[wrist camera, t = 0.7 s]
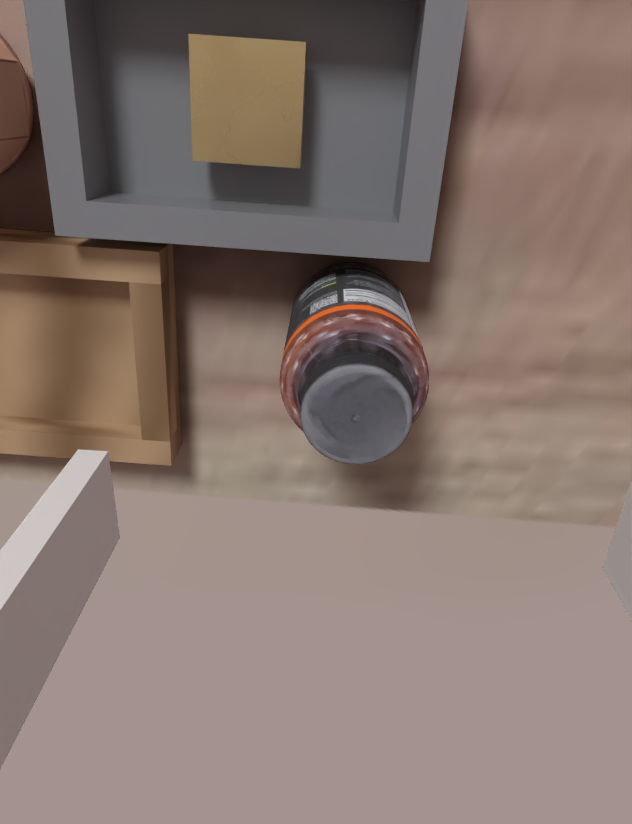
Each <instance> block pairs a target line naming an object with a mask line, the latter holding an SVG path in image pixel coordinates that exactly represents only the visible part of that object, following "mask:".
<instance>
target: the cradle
mask: <svg viewBox="0 0 632 824" xmlns="http://www.w3.org/2000/svg"><path fill="white" fill-rule="evenodd" d="M468 1H469V0H24V8H25V15H26V22H27V30H28V37H29V45H30V52H31V60H32V67H33V74H34V82H35V89H36V97H37V104H38V111H39V119H40V126H41V134H42V141H43V148H44V156H45V163H46V171H47V178H48V186H49V193H50V200H51V208H52V215H53V223H54V230H55V236H69V237H83V238H97V239H111V240H125V241H139V242H154V243H168V244H182V245H196V246H210V247H224V248H238V249H252V250H266V251H280V252H294V253H308V254H322V255H337V256H351V257H365V258H379V259H393V260H407V261H421V262H430V255H431V249H432V242H433V235H434V229H435V222H436V215H437V209H438V202H439V195H440V189H441V182H442V175H443V168H444V162H445V155H446V148H447V142H448V135H449V128H450V122H451V115H452V108H453V102H454V95H455V88H456V81H457V75H458V68H459V61H460V55H461V48H462V41H463V35H464V28H465V21H466V15H467V8H468ZM188 34H200V35H214V36H228V37H243V38H257V39H271V40H285V41H299V42H306V43H307V60H306V81H305V102H304V123H303V144H302V165H301V168H287V167H273V166H258V165H244V164H230V163H216V162H202V161H192V136H191V103H190V70H189V36H188Z"/></svg>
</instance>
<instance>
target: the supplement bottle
mask: <svg viewBox="0 0 632 824" xmlns="http://www.w3.org/2000/svg"><path fill="white" fill-rule="evenodd" d="M428 387H429V372H428V366H427V361H426V358H425V354H424V352H423V347H422V345H421V342H420V340H419V337H418V334H417V332H416V329H415V325H414V324H413V321H412V318H411V315H410V313H409V310H408V307H407V305H406V302H405V300H404V298H403V296H402V294H401V292H400V291H399V289H398V287H397V286H396V284H395V283H394V282H393V281H392V280H391V279H390V278H389V277H388V276H387V275H385V274H384V273H382V272H381V271H379V270H377V269H375V268H373V267H370V266H367V265H363V264H358V263H342V264H338V265H334V266H331V267H328V268H326V269H323V270H322V271H320V272H318V273H317V274H315V275H314V276H313V277H311V278H310V279H309V280H308V281H307V282H306V283H305V284H304V286H303V287H302V288H301V290H300V292H299V294H298V295H297V298H296V300H295V302H294V305H293V309H292V314H291V318H290V324H289V329H288V334H287V339H286V343H285V348H284V354H283V359H282V365H281V371H280V390H281V395H282V399H283V402H284V405H285V407H286V409H287V411H288V413H289V415H290V417H291V418H292V420H293V421H294V422H295V424H296V425H297V426H298V427H299V428H300V429H301V430H302V431H303V432H304V434H305V436H306V437H307V439H308V441H309V442H310V443H311V445H312V446H313V447H314V448H315V449H316V450H318V451H319V452H320V453H321V454H323V455H324V456H326V457H328V458H330V459H333V460H335V461H338V462H342V463H346V464H366V463H370V462H375V461H377V460H379V459H382V458H384V457H386V456H388V455H389V454H391V453H392V452H394V451H395V450H396V449H397V448H398V447H399V446H400V445H401V444H402V442H403V441H404V439H405V438H406V437H407V435H408V433H409V430H410V428H411V424H412V423H413V422H414V421H415V419H416V418H417V417H418V415H419V414H420V412H421V410H422V409H423V406H424V403H425V401H426V398H427V394H428Z"/></svg>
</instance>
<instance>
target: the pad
mask: <svg viewBox="0 0 632 824" xmlns="http://www.w3.org/2000/svg"><path fill="white" fill-rule="evenodd" d="M188 36H189V70H190V103H191V136H192V161H202V162H216V163H230V164H244V165H258V166H273V167H287V168H301V165H302V144H303V123H304V102H305V81H306V60H307V43H306V42H299V41H285V40H271V39H257V38H243V37H228V36H214V35H200V34H188Z"/></svg>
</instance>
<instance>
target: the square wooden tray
mask: <svg viewBox="0 0 632 824" xmlns="http://www.w3.org/2000/svg"><path fill="white" fill-rule="evenodd" d="M181 444H182V429H181V407H180V386H179V364H178V343H177V322H176V300H175V279H174V258H173V244H168V243H154V242H139V241H125V240H111V239H97V238H83V237H69V236H55V232H43V231H28V230H14V229H0V453H1V454H15V455H29V456H43V457H57V458H72V457H73V455H74V454H75V453H76V452H77V450H78V449H79V450H96V451H108V454H109V461H113V462H127V463H141V464H154V465H168V466H172V463H173V461H174V459H175V457H176V455H177V453H178V450H179V448H180V446H181Z"/></svg>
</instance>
